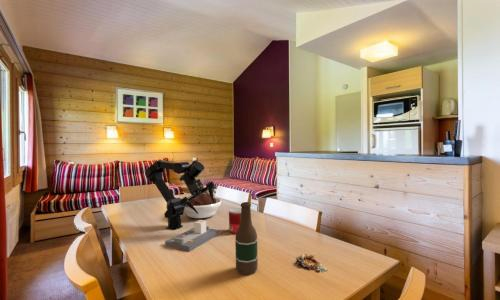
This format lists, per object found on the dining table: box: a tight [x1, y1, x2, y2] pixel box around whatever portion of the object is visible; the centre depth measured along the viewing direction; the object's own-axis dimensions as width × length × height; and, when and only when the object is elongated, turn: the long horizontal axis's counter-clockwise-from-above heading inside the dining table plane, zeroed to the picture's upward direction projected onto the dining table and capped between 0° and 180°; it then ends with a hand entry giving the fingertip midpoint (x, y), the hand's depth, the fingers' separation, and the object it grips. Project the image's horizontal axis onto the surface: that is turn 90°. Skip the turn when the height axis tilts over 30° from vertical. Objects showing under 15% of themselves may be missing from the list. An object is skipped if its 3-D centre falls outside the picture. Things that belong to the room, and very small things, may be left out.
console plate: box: [164, 225, 220, 252], centre depth 119 cm, size 14×22×4 cm, turn 152°
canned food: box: [228, 208, 241, 235], centre depth 129 cm, size 8×8×11 cm
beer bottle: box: [234, 201, 259, 276], centre depth 89 cm, size 8×8×24 cm
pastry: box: [292, 253, 327, 273], centre depth 92 cm, size 7×12×4 cm, turn 54°
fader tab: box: [193, 219, 207, 234], centre depth 123 cm, size 4×4×5 cm
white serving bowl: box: [184, 192, 222, 219], centre depth 157 cm, size 25×25×15 cm
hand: (206, 208), depth 123 cm, fingers open, 9 cm apart
